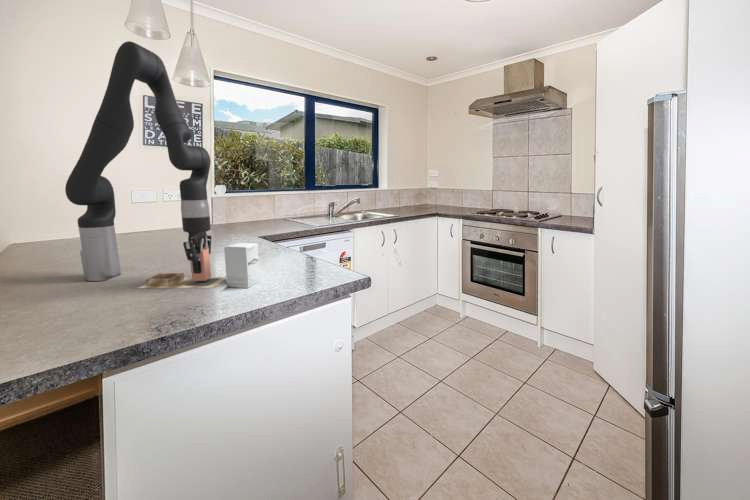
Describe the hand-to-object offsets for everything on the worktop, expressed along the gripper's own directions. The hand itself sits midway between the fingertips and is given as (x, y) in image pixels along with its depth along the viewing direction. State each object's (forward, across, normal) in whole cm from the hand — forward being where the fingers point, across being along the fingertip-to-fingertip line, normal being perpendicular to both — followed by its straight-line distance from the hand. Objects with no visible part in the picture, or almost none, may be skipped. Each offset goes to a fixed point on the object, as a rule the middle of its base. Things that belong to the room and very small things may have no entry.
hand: (201, 271), depth 110 cm
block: (+2, 0, 0) cm, 2 cm away
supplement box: (+5, +1, -12) cm, 13 cm away
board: (+5, 0, +5) cm, 7 cm away
